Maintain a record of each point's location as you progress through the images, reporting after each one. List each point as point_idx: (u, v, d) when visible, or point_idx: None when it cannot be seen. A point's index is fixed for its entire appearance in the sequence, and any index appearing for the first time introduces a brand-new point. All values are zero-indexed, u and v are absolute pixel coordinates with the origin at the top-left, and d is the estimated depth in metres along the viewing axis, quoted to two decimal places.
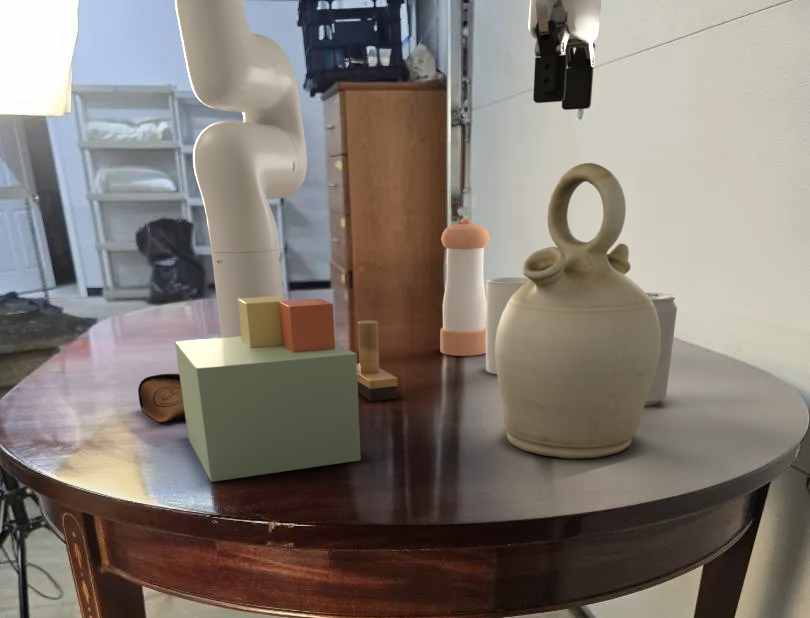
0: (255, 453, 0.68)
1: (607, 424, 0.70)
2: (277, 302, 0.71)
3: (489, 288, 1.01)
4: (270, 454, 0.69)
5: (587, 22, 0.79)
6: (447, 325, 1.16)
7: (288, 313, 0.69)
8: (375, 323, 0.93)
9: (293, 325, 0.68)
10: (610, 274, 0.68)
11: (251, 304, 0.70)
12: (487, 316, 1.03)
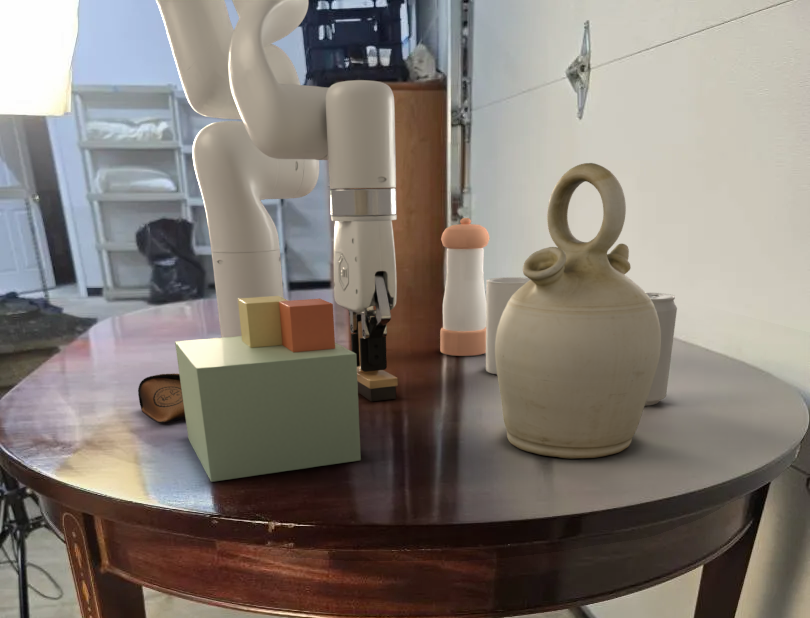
0: (255, 453, 0.68)
1: (607, 424, 0.70)
2: (277, 302, 0.71)
3: (489, 288, 1.01)
4: (270, 454, 0.69)
5: None
6: (447, 325, 1.16)
7: (288, 313, 0.69)
8: None
9: (293, 325, 0.68)
10: (610, 274, 0.68)
11: (251, 304, 0.70)
12: (487, 316, 1.03)
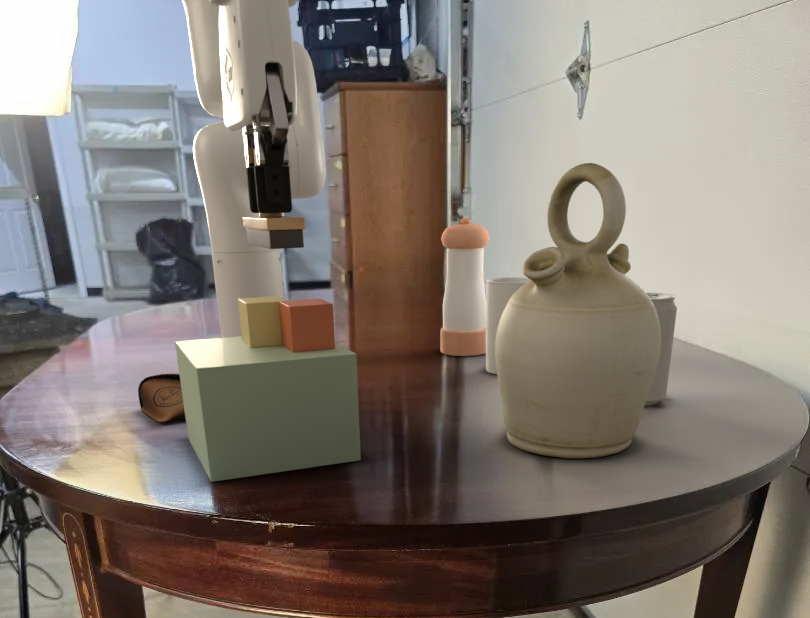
0: (255, 453, 0.68)
1: (607, 424, 0.70)
2: (277, 302, 0.71)
3: (489, 288, 1.01)
4: (270, 454, 0.69)
5: None
6: (447, 325, 1.16)
7: (288, 313, 0.69)
8: None
9: (293, 325, 0.68)
10: (610, 274, 0.68)
11: (251, 304, 0.70)
12: (487, 316, 1.03)
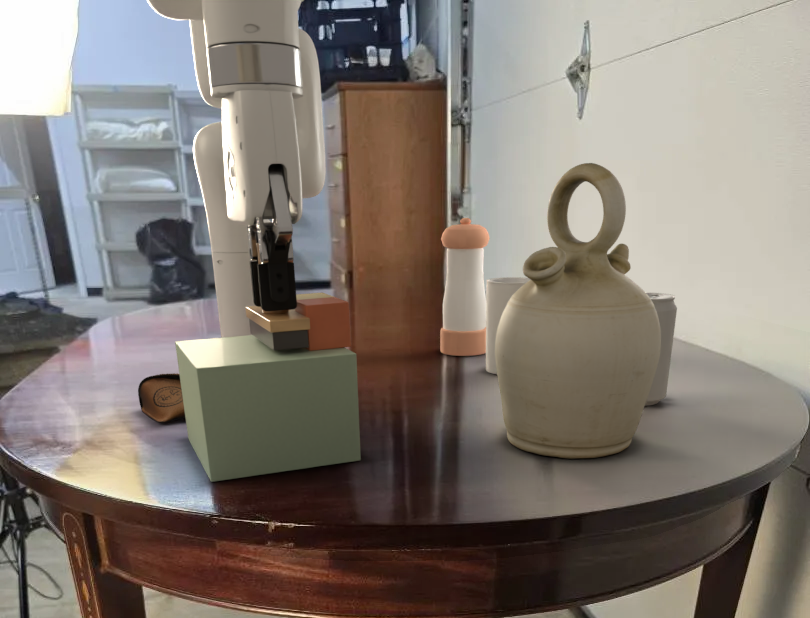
0: (255, 453, 0.68)
1: (607, 424, 0.70)
2: None
3: (489, 288, 1.01)
4: (270, 454, 0.69)
5: None
6: (447, 325, 1.16)
7: (304, 312, 0.69)
8: None
9: (310, 324, 0.69)
10: (610, 274, 0.68)
11: None
12: (487, 316, 1.03)
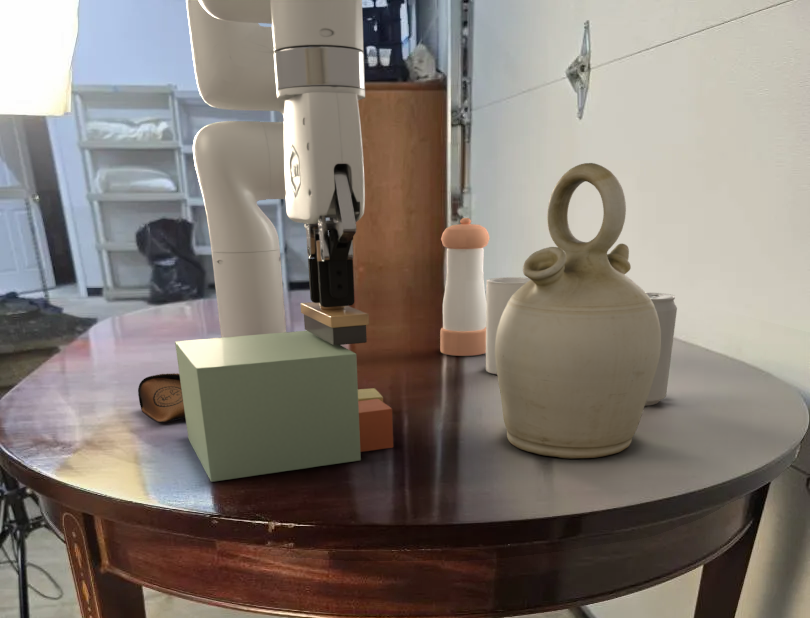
0: (255, 453, 0.68)
1: (607, 424, 0.70)
2: None
3: (489, 288, 1.01)
4: (270, 454, 0.69)
5: None
6: (447, 325, 1.16)
7: (383, 407, 0.75)
8: None
9: (376, 413, 0.74)
10: (610, 274, 0.68)
11: (382, 401, 0.79)
12: (487, 316, 1.03)
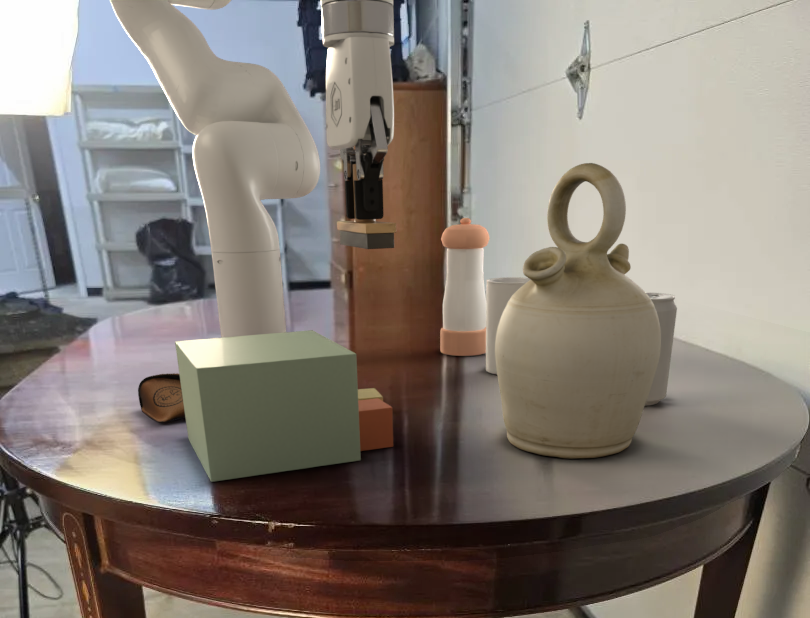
0: (255, 453, 0.68)
1: (607, 424, 0.70)
2: None
3: (489, 288, 1.01)
4: (270, 454, 0.69)
5: None
6: (447, 325, 1.16)
7: (383, 406, 0.75)
8: None
9: (376, 411, 0.74)
10: (610, 274, 0.68)
11: None
12: (487, 316, 1.03)
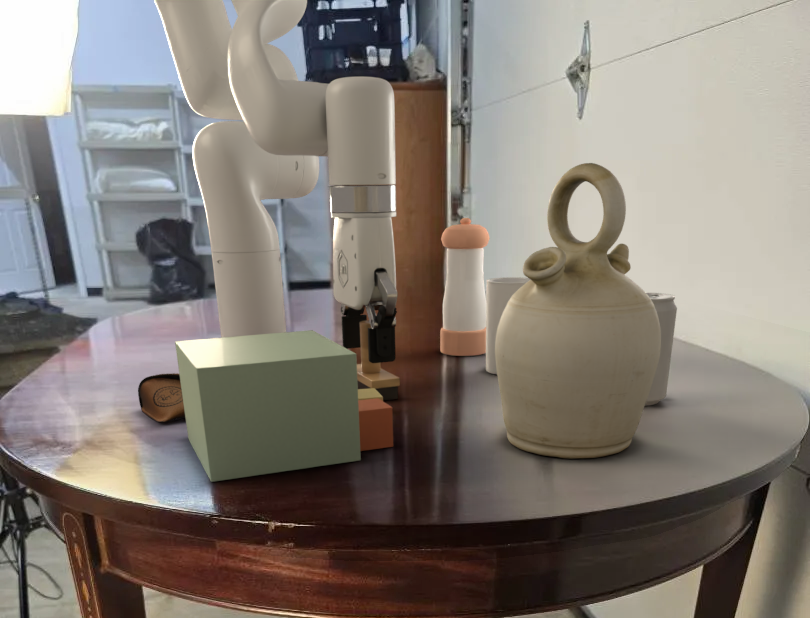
0: (255, 453, 0.68)
1: (607, 424, 0.70)
2: None
3: (489, 288, 1.01)
4: (270, 454, 0.69)
5: None
6: (447, 325, 1.16)
7: (383, 406, 0.75)
8: None
9: (376, 411, 0.74)
10: (610, 274, 0.68)
11: None
12: (487, 316, 1.03)
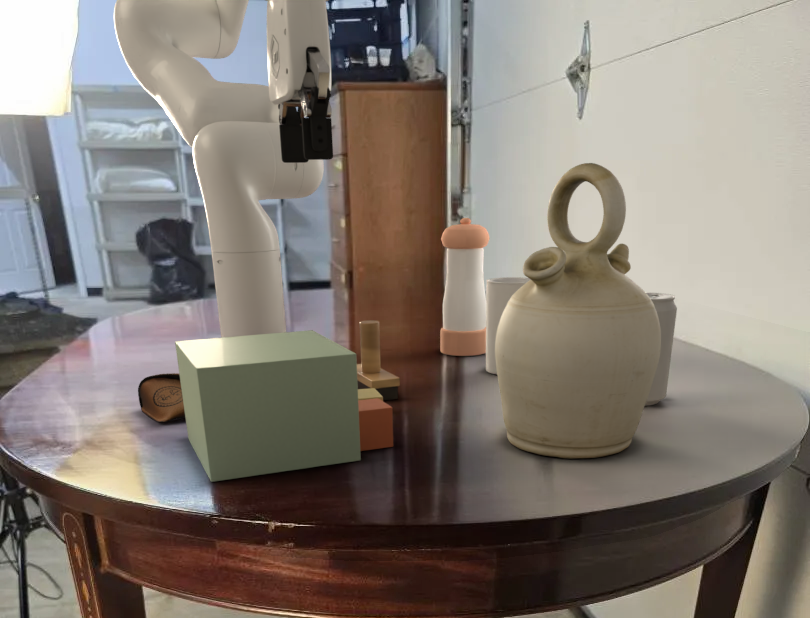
0: (255, 453, 0.68)
1: (607, 424, 0.70)
2: None
3: (489, 288, 1.01)
4: (270, 454, 0.69)
5: None
6: (447, 325, 1.16)
7: (383, 406, 0.75)
8: (377, 323, 0.93)
9: (376, 411, 0.74)
10: (610, 274, 0.68)
11: None
12: (487, 316, 1.03)
